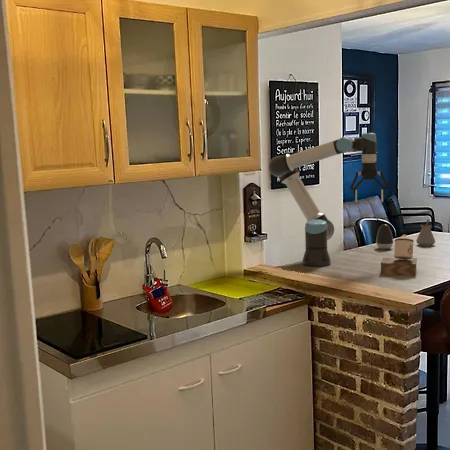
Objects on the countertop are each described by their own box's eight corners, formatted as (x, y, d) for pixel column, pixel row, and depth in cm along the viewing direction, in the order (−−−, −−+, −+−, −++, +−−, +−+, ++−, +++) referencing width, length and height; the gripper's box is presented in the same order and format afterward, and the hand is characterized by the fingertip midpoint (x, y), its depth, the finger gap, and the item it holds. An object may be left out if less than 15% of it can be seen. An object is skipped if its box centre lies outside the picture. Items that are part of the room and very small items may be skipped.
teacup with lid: (411, 256, 282) (412, 233, 285) (392, 256, 286) (393, 232, 289) (415, 260, 293) (416, 237, 295) (396, 260, 297) (397, 237, 299)
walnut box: (380, 275, 285) (380, 263, 284) (383, 269, 300) (383, 257, 300) (415, 276, 280) (416, 264, 279) (416, 270, 295) (416, 258, 294)
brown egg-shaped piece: (395, 247, 363) (395, 223, 362) (390, 250, 355) (390, 225, 353) (379, 246, 369) (379, 222, 367) (373, 249, 360) (373, 224, 358)
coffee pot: (434, 247, 362) (434, 223, 360) (415, 246, 367) (415, 222, 365) (437, 242, 381) (437, 219, 380) (418, 241, 386) (419, 218, 384)
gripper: (345, 163, 312) (345, 202, 314) (393, 161, 307) (393, 202, 309) (345, 162, 319) (345, 201, 322) (392, 161, 314) (392, 201, 317)
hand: (369, 202), depth 315 cm, fingers open, 13 cm apart
